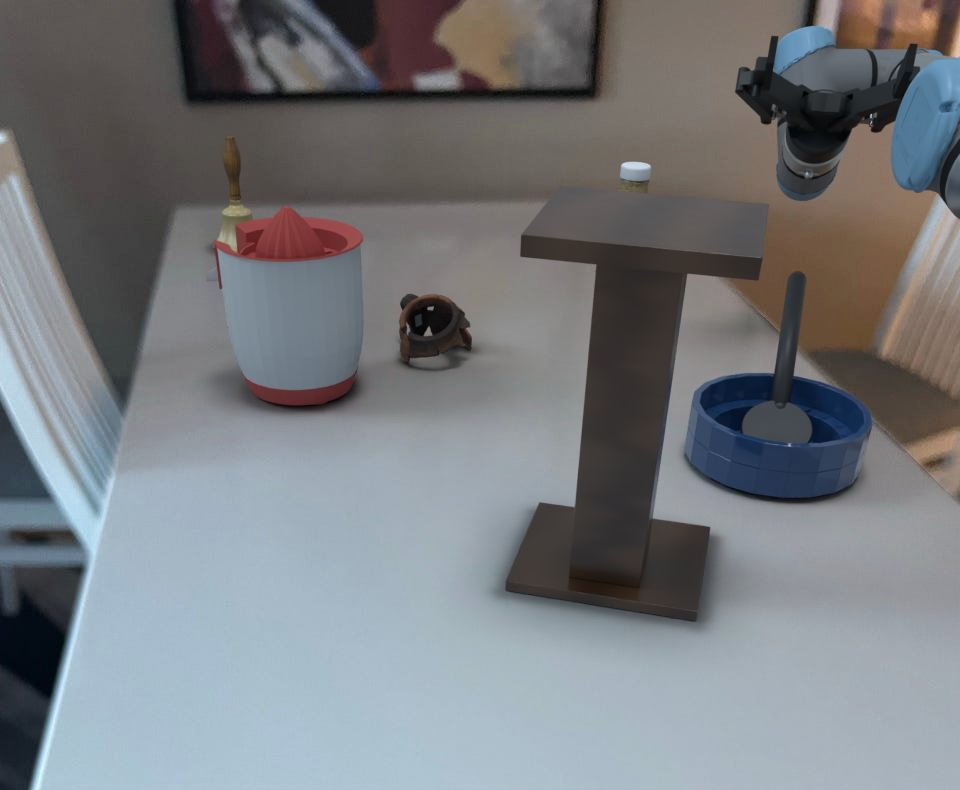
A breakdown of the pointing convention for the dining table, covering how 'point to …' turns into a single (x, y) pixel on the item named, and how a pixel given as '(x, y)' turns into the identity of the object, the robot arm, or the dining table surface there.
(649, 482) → the wooden pedestal stand
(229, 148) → the hand bell
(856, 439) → the bowl
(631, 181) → the sprinkles bottle
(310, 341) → the citrus juicer
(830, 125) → the robot arm
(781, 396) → the long-handled flat disc
